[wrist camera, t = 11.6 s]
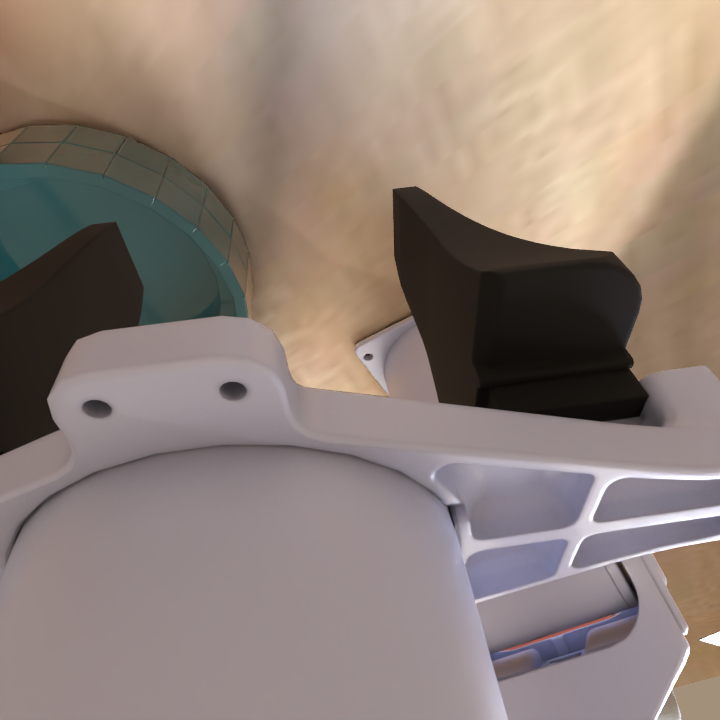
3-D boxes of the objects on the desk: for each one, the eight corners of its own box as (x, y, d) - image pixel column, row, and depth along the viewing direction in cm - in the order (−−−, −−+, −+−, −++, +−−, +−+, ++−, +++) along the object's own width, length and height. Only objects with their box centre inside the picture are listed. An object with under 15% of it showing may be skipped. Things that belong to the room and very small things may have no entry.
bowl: (304, 298, 27) (307, 352, 24) (114, 400, 30) (95, 460, 27) (103, 48, 18) (68, 81, 15) (-129, 227, 22) (-197, 284, 19)
